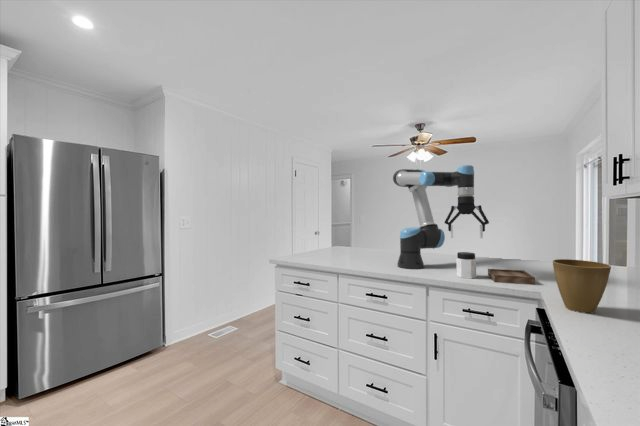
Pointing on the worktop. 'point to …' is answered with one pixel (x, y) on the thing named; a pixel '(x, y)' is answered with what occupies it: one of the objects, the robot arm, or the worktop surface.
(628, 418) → the worktop surface
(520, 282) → the wooden tray
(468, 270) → the jar
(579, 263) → the plant pot
